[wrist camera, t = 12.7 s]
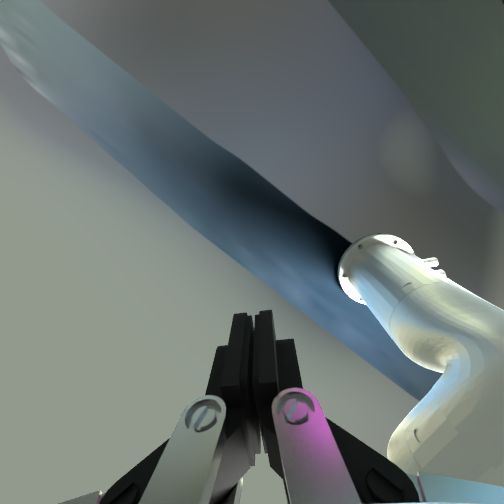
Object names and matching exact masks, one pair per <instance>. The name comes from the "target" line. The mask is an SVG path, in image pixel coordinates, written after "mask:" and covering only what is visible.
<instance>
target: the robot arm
mask: <svg viewBox="0 0 504 504" xmlns="http://www.w3.org/2000/svg"><path fill="white" fill-rule="evenodd" d="M393 240H394V241H393ZM359 244H360V245H359ZM358 245H359V246H358ZM434 266H438V261H437V259H436V258H429V259H424V260H422V259H420V258H419V257H417V256H415V254H414V251H413V250H412V249H411V247H410V246H409V245H408V244H407V243H406V242H405V241H403V240H402V239H400V238H398V237H396V236H394V235H390V234H381V233H379V234H371V235H368V236H365V237H363V238H361V239H359V240H357V241H356V242H354V243H353V244H351V245H350V246H349V248H348V249H347V250H346V251H345V252H344V254H343V255H342V257H341V260H340V262H339V266H338V279H339V283H340V285H341V287H342V289H343V290H344V292H345V293H346V294H347V295H348V296H349V297H350V298H352V299H353V300H355V301H357V302H359V303H363V304H366V305H367V306H368V308H369V309H370V310H371V312H372V313H373V314H374V315H375V317H376V318H377V319H378V321H379V322H380V323H381V325H382V326H383V327H384V329H385V330H386V331H387V332H388V334H389V335H390V336H391V338H392V339H393V340H394V342H395V343H396V344H397V346H398V347H399V348H400V349H401V351H402V352H403V353H404V354H405V355H406V356H407V357H409V358H410V359H411V360H412V361H414V362H416V363H417V364H419V365H421V366H423V367H425V368H428V369H431V370H434V371H437V372H441V373H443V375H442V376H441V377H440V378H439V380H438V381H437V382H436V383H435V384H434V385H433V387H432V389H431V390H430V391H429V392H428V393H427V394H426V395H425V397H424V398H423V399H422V400H421V401H420V402H419V403H418V404H417V405H416V406H415V408H414V409H413V410H412V411H411V412H410V413H409V414H408V415H407V417H406V418H405V419H404V420H403V421H402V422H401V424H400V425H399V426H398V428H397V429H396V430H395V432H394V433H393V435H392V436H391V439H390V441H389V445H388V459H387V458H385V457H384V456H382V455H381V454H379V453H378V452H376V451H375V450H373V449H372V448H370V447H369V446H367V445H366V444H365V443H363V442H361V441H360V440H358V439H357V438H356V437H354V436H353V435H351V434H350V433H348V432H346V431H345V430H344V429H342V428H341V427H339V426H338V425H336V424H335V423H333V422H332V421H330V420H329V419H327V418H326V417H325V416H324V414H323V411H322V409H321V406H320V404H319V402H318V400H317V399H316V397H315V396H314V395H313V394H311V392H309V391H307V390H305V389H303V387H302V381H301V376H300V371H299V366H298V360H297V355H296V349H295V344H294V339H285V340H276V335H275V328H274V321H273V314H272V310H265V311H260V312H259V315H255V328H254V326H253V320H252V316H251V315H250V316H247V313H238V314H234V316H233V321H232V327H231V333H230V337H229V343H228V345H225V346H218V347H217V350H216V354H215V358H214V362H213V366H212V370H211V374H210V378H209V382H208V386H207V390H206V394H205V396H202V397H199V398H197V399H195V400H193V401H192V402H191V403H190V404H188V405H187V406H186V408H185V409H184V411H183V412H182V414H181V416H180V418H179V420H178V422H177V425H176V427H175V429H174V431H173V433H172V435H171V437H170V438H169V439H168V440H167V441H166V442H164V443H163V444H162V445H161V446H159V447H158V448H157V449H156V450H155V451H153V452H152V453H151V454H150V455H148V456H147V457H146V458H145V459H144V460H142V461H141V462H140V463H139V464H137V466H135V467H134V468H133V469H131V470H130V471H129V472H128V473H127V474H126V475H124V476H123V477H122V478H120V479H119V480H118V481H117V482H116V483H115V484H114V485H113V486H112V487H111V488H110V489H109V490H108V491H107V492H106V493H104V494H102V493H101V491H96V492H93V493H90V494H87V495H84V496H81V497H78V498H75V499H71V500H68V501H65V502H62V503H59V504H239V502H240V497H241V491H242V482H243V479H242V477H243V475H244V474H245V473H246V472H247V471H248V470H249V469H250V466H255V454H260V452H261V435H262V440H263V445H264V450H265V453H268V457H269V463H270V467H271V468H272V469H273V470H274V471H275V472H276V473H277V474H278V475H279V476H280V477H281V478H282V479H283V483H284V489H285V494H286V499H287V503H288V504H504V310H502V309H500V308H498V307H496V306H494V305H492V304H490V303H489V302H487V301H485V300H483V299H482V298H480V297H478V296H476V295H474V294H473V293H471V292H470V291H468V290H466V289H464V288H463V287H461V286H459V285H458V284H456V283H454V282H452V281H451V280H449V279H448V278H446V274H445V272H444V271H443V270H433V269H431V268H429V267H434ZM343 273H344V274H343ZM342 274H343V275H342Z"/></svg>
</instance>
